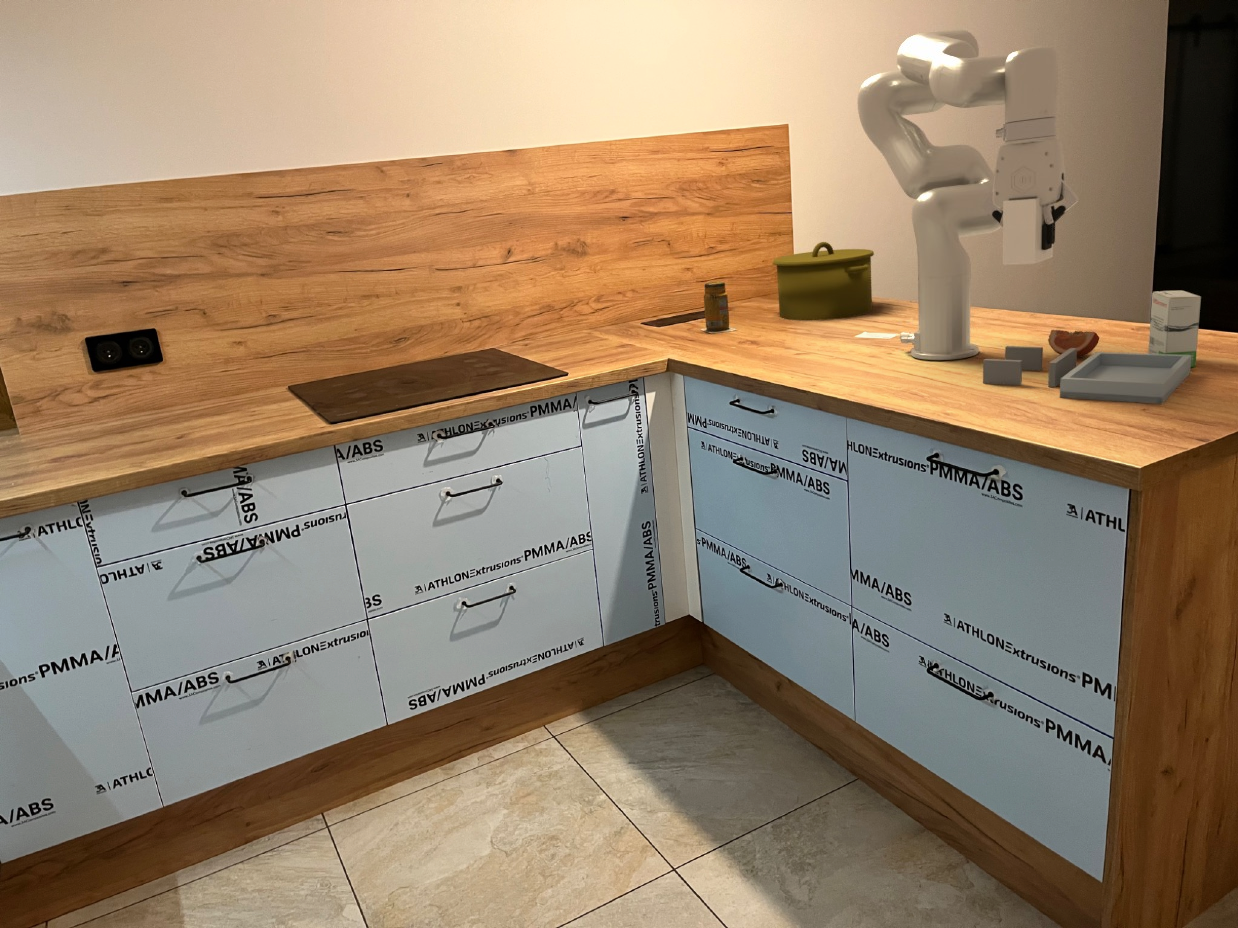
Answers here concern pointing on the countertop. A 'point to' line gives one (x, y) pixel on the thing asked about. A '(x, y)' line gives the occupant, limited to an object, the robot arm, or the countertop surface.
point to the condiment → (716, 308)
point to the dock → (1026, 365)
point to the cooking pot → (824, 283)
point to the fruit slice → (1073, 341)
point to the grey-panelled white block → (1023, 232)
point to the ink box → (1174, 323)
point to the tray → (1126, 377)
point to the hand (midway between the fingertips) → (1028, 248)
